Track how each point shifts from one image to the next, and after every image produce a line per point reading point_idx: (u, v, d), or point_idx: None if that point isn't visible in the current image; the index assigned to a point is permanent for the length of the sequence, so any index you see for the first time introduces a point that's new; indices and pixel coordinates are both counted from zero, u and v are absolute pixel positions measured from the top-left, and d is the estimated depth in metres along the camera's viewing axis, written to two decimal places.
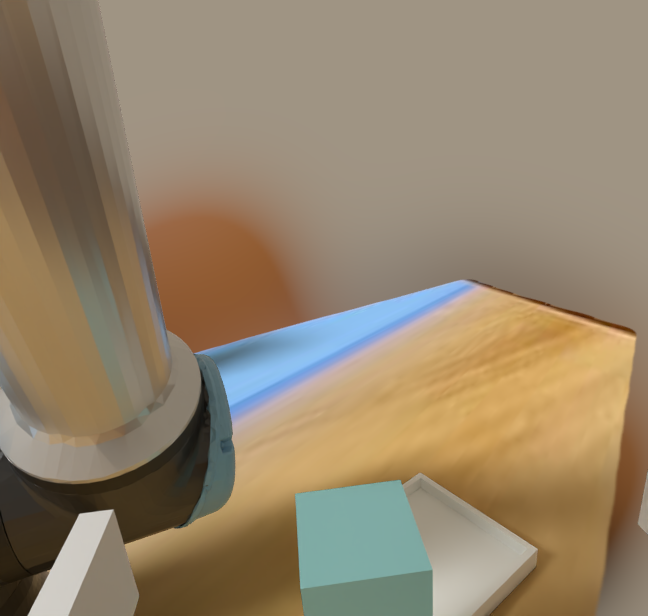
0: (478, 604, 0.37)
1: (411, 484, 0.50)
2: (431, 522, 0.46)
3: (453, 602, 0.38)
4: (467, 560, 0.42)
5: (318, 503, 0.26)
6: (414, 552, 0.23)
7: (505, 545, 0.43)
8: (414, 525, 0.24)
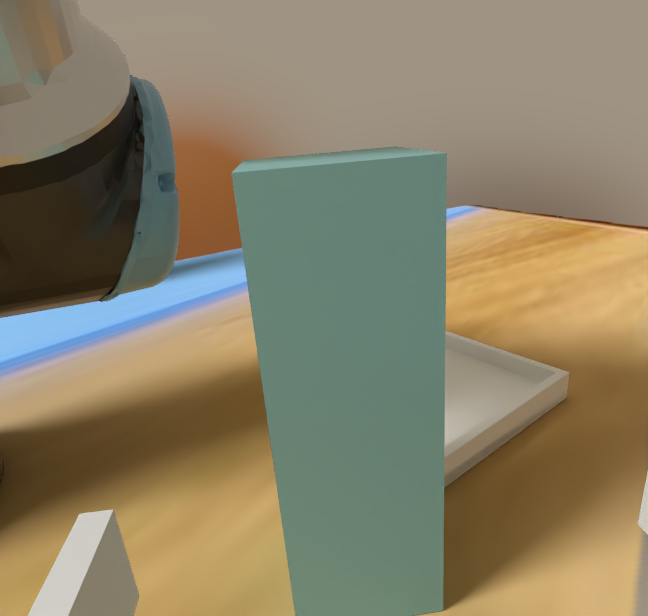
0: (498, 417, 0.29)
1: None
2: None
3: (465, 425, 0.30)
4: (481, 391, 0.34)
5: (274, 158, 0.18)
6: (416, 153, 0.14)
7: (527, 378, 0.35)
8: (416, 149, 0.16)
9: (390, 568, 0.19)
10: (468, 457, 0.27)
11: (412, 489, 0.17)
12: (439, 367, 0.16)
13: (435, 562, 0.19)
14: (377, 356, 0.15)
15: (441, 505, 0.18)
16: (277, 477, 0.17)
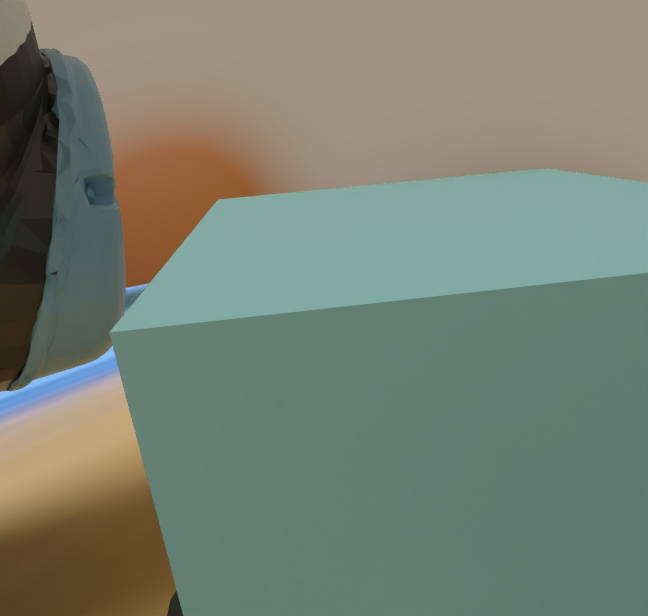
0: None
1: None
2: None
3: None
4: None
5: (287, 201, 0.08)
6: None
7: None
8: None
9: None
10: None
11: None
12: None
13: None
14: None
15: None
16: None
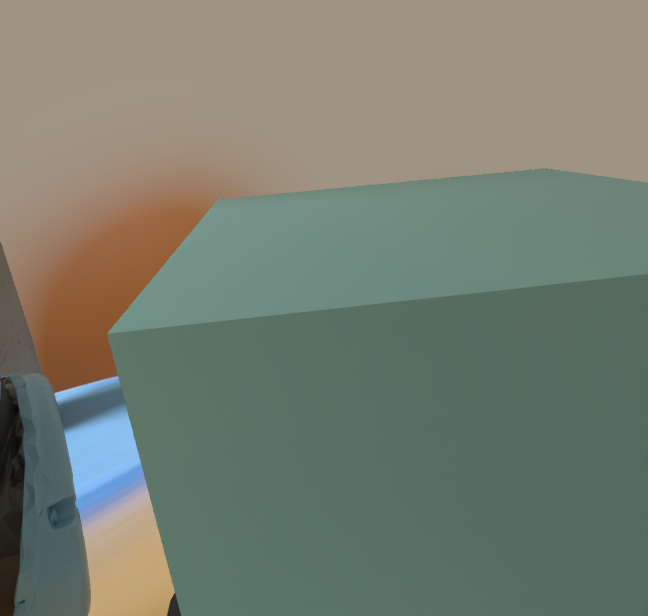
0: None
1: None
2: None
3: None
4: None
5: (287, 200, 0.08)
6: None
7: None
8: None
9: None
10: None
11: None
12: None
13: None
14: None
15: None
16: None
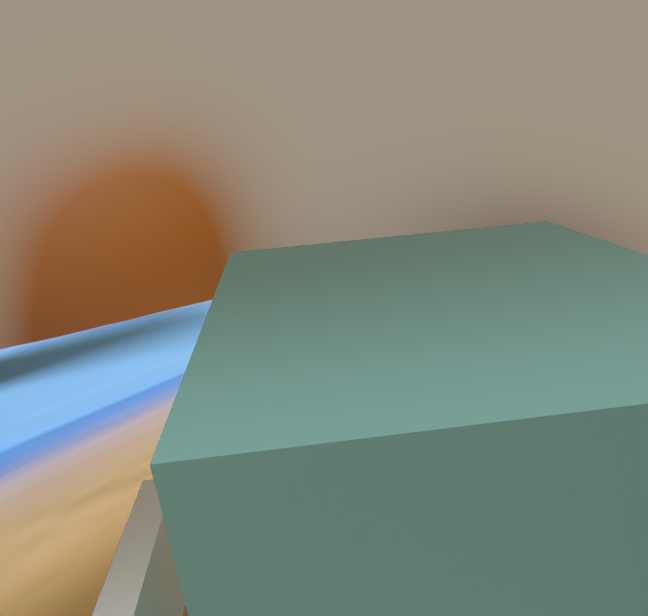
0: None
1: None
2: None
3: None
4: None
5: (298, 259, 0.08)
6: None
7: None
8: None
9: None
10: None
11: None
12: None
13: None
14: None
15: None
16: None
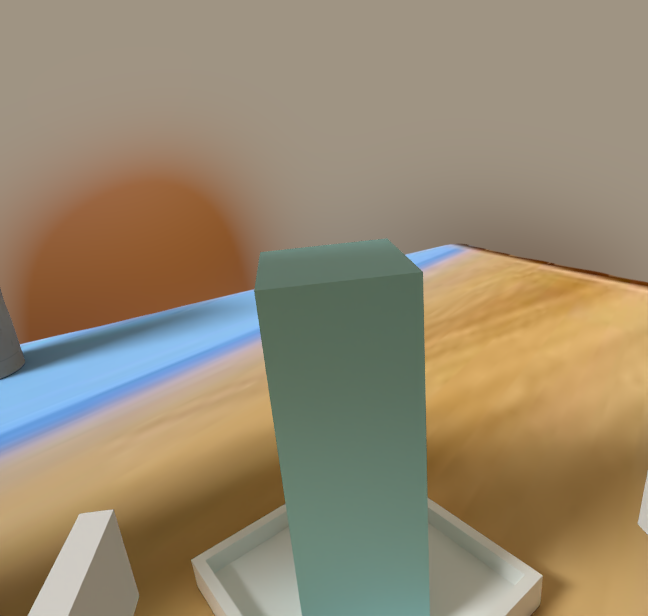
0: None
1: None
2: None
3: None
4: None
5: (286, 254, 0.22)
6: (400, 266, 0.18)
7: (489, 568, 0.26)
8: (401, 255, 0.20)
9: (384, 594, 0.22)
10: None
11: (401, 529, 0.21)
12: (421, 432, 0.19)
13: (422, 589, 0.22)
14: (371, 425, 0.19)
15: (426, 542, 0.21)
16: (289, 521, 0.20)
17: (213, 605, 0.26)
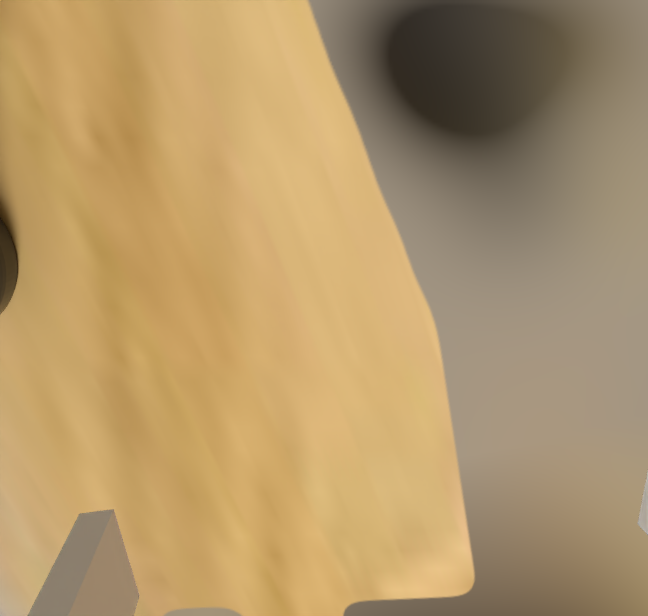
0: None
1: None
2: None
3: None
4: None
5: None
6: None
7: None
8: None
9: None
10: None
11: None
12: None
13: None
14: None
15: None
16: None
17: None
